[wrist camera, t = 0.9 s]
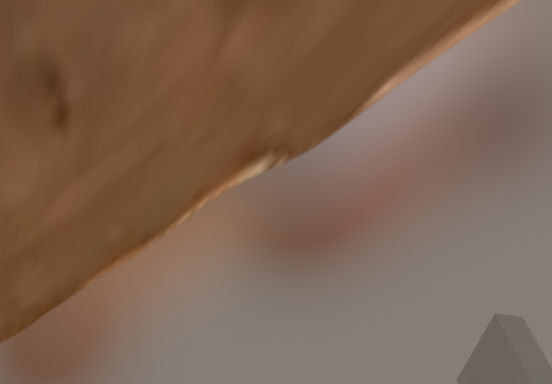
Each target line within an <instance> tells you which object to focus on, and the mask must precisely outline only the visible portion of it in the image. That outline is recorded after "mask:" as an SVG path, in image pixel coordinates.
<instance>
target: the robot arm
mask: <svg viewBox="0 0 552 384" xmlns="http://www.w3.org/2000/svg"><path fill="white" fill-rule="evenodd" d="M457 382H458V384H552V368H551V366H550V364H549V362H548V360H547V359H546V357H545V355H544V353H543V352H542V350H541V348H540V346H539V345H538V343H537V341H536V340H535V338H534V336H533V334H532V333H531V331H530V329H529V327H528V326H527V324H526V322H525V320H524V319H523V317H518V316H510V315H502V314H495V315H494V316H493V318H492V320H491V321H490V323H489V325H488V327H487V328H486V330H485V332H484V334H483V335H482V337H481V339H480V341H479V342H478V344H477V346H476V347H475V349H474V351H473V352H472V354H471V356H470V358H469V359H468V361H467V363H466V365H465V366H464V368H463V370H462V371H461V373H460V375H459V377H458V378H457Z"/></svg>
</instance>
